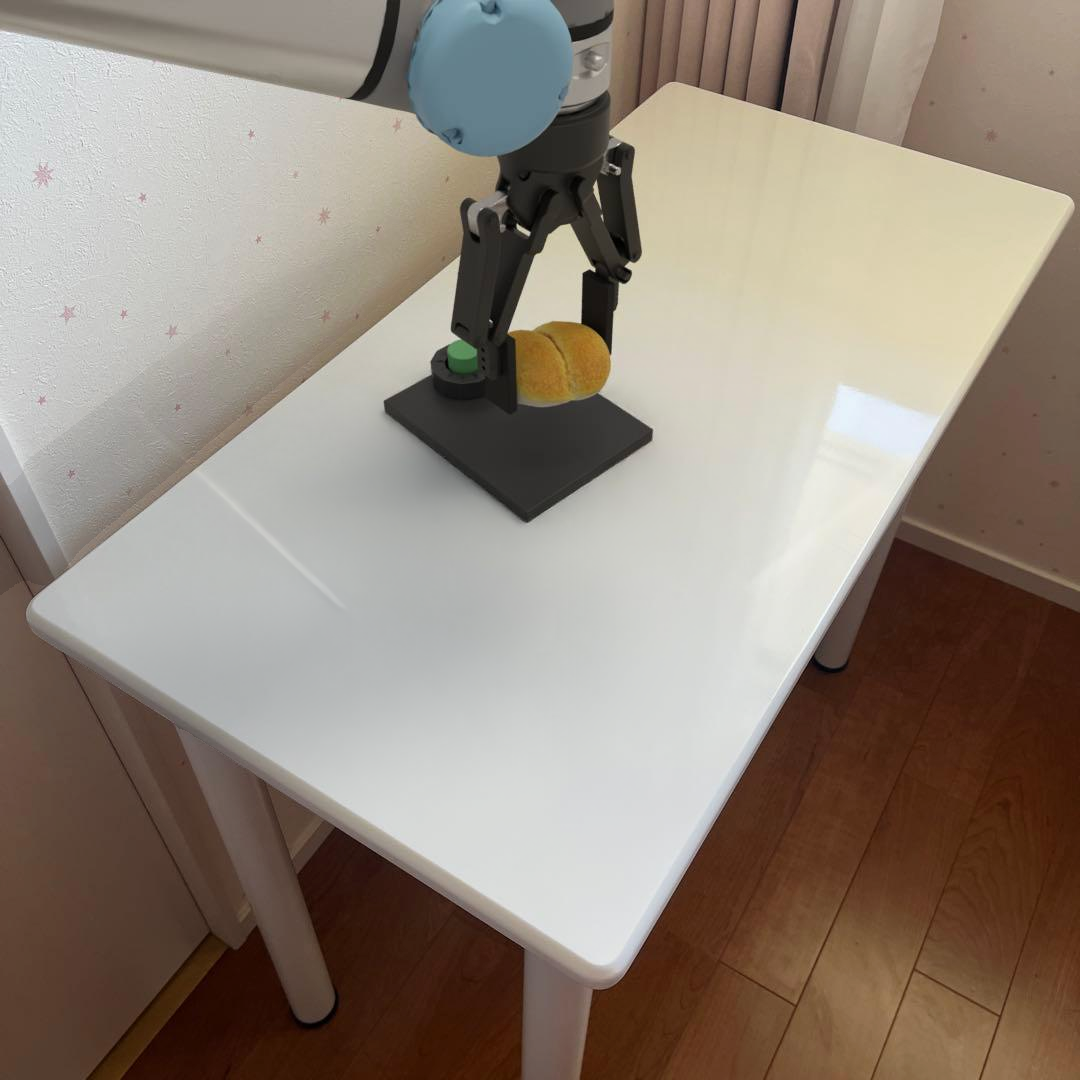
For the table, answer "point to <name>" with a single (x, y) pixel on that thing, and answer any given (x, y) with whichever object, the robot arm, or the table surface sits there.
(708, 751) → the table surface
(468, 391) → the scale
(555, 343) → the bread roll
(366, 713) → the table surface
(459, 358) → the button
